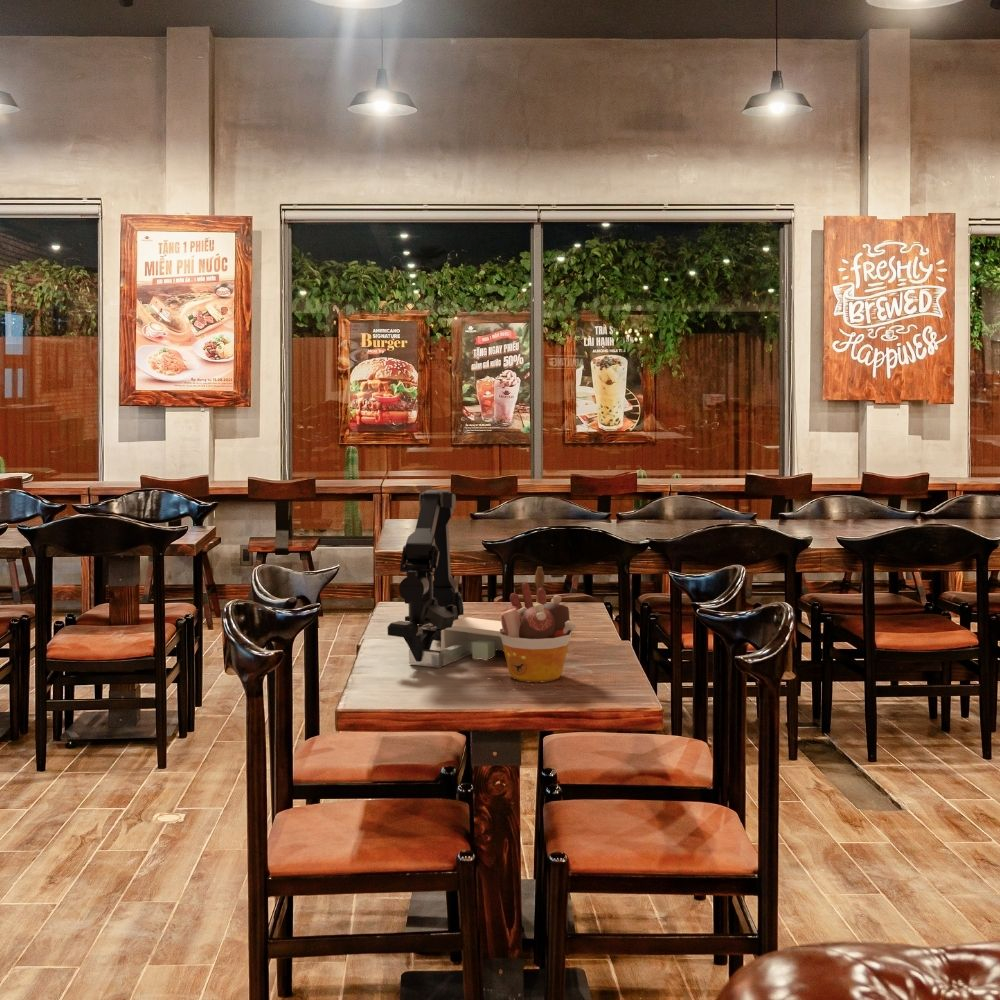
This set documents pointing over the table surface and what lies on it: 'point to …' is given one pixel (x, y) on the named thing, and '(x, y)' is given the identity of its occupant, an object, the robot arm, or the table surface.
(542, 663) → the bucket of meat
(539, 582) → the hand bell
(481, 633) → the low cubby
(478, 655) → the mint cube
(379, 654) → the table surface
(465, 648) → the pale grey angled bracket
